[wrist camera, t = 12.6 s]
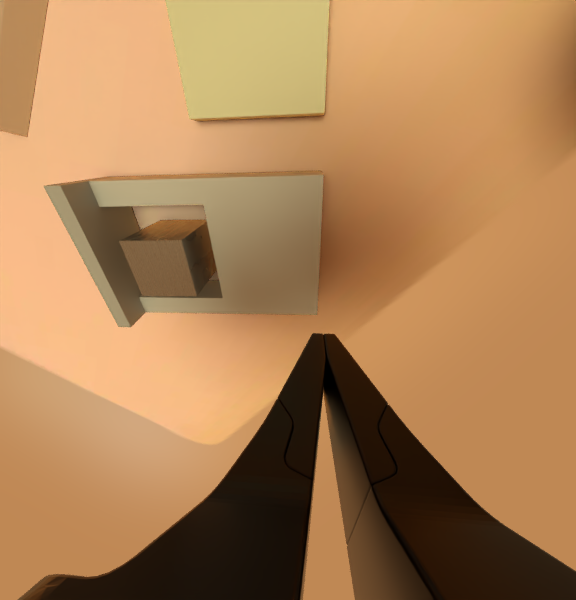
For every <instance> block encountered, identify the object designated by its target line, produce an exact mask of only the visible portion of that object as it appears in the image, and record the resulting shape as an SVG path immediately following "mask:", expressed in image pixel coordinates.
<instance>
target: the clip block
mask: <svg viewBox="0 0 576 600" xmlns="http://www.w3.org/2000/svg"><path fill="white" fill-rule="evenodd" d="M119 242H120V245H121V247H122V249H123V252H124V254H125V256H126V259H127V261H128V263H129V266H130V268H131V270H132V273H133V275H134V277H135V280H136V282H137V284H138V287H139V289H140V291H141V294H142V296H198V294H199V293H200V291H201V290H202V289H203V287H204V286H205V285H206V283H207V282H208V281H209V279H210V278H211V277H212V275H213V274H214V273H215V271H216V270H217V268H216V263H215V258H214V254H213V249H212V244H211V239H210V235H209V230H208V225H207V220H160V221H158V222H156V223H154V224H152V225H150V226H148V227H146V228H144V229H142V230H140V231H138V232H136V233H134V234H132V235H130V236H128V237H126V238H124V239H122V240H120V241H119Z"/></svg>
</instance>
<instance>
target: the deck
mask: <svg viewBox="0 0 576 600" xmlns="http://www.w3.org/2000/svg"><path fill="white" fill-rule="evenodd" d="M323 181H324V175H323V173H322V171H296V172H260V173H224V174H189V175H153V176H117V177H102V178H95V179H89V180H82V181H75V182H68V183H61V184H54V185H47V186H44V188H45V190H46V192H47V194H48V196H49V197H50V199H51V201H52V203H53V205H54V207H55V209H56V211H57V212H58V214H59V216H60V218H61V220H62V222H63V224H64V226H65V227H66V229H67V231H68V233H69V235H70V237H71V239H72V241H73V242H74V244H75V246H76V248H77V250H78V252H79V254H80V256H81V257H82V259H83V261H84V263H85V265H86V267H87V269H88V271H89V272H90V274H91V276H92V278H93V280H94V282H95V284H96V286H97V287H98V289H99V291H100V293H101V295H102V297H103V299H104V301H105V302H106V304H107V306H108V308H109V310H110V312H111V314H112V316H113V317H114V319H115V321H116V323H117V325H118V327H132V326H133V325H134V323H135V322H136V321H137V320H138V319H139V318H140V317H141V316H142V315H143V314H144V313H145V312H159V313H221V314H284V315H317V311H318V289H319V268H320V246H321V224H322V203H323ZM167 205H203V206H204V211H205V216H206V220H207V225H208V230H209V235H210V239H211V244H212V249H213V254H214V258H215V263H216V268H217V273H218V277H219V280H209V281H208V282H207V283H206V285H205V286H204V287H203V289H202V290H201V291H200V293H199V294H198V296H142V294H141V291H140V289H139V287H138V284H137V282H136V280H135V277H134V275H133V273H132V270H131V268H130V266H129V263H128V261H127V259H126V256H125V254H124V252H123V249H122V247H121V245H120V242H119V241H120V240H122V239H124V238H126V237H128V236H130V235H132V234H134V233H136V232H138V231H140V228H139V226H138V223H137V220H136V218H135V215H134V212H133V209H132V207H131V206H167Z"/></svg>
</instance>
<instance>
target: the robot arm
mask: <svg viewBox="0 0 576 600" xmlns="http://www.w3.org/2000/svg"><path fill="white" fill-rule="evenodd" d="M323 393H324V400H325V406H326V413H327V420H328V426H329V432H330V439H331V445H332V452H333V458H334V465H335V472H336V478H337V484H338V491H339V498H340V504H341V511H342V517H343V524H344V530H345V537H346V543H347V545H348V546H347V550H348V557H349V563H350V570H351V576H352V583H353V589H354V595H355V600H576V571H575V570H573V569H572V568H570V567H568V566H567V565H565V564H564V563H562V562H561V561H559V560H558V559H556V558H554V557H553V556H551V555H550V554H548V553H547V552H545V551H544V550H542V549H540V548H539V547H537V546H536V545H534V544H533V543H531V542H530V541H528V540H527V539H525V538H523V537H522V536H520V535H519V534H517V533H516V532H514V531H513V530H511V529H509V528H508V527H506V526H505V525H503V524H502V523H500V522H499V521H498V520H497V519H495V518H494V517H493V516H491V515H490V514H489V513H488V512H487V511H485V510H484V509H483V508H482V507H481V506H480V505H479V504H478V503H477V502H475V501H474V500H473V499H472V498H471V497H470V495H469V494H468V493H466V491H465V490H464V489H463V488H462V487H461V486H460V485H459V484H458V483H457V482H456V481H455V480H454V478H453V477H452V476H451V475H450V474H449V473H448V472H447V471H446V470H445V469H444V468H443V467H442V466H441V464H440V463H439V462H438V461H437V460H436V459H435V458H434V457H433V456H432V455H431V454H430V453H429V452H428V451H427V449H426V448H425V447H424V446H423V445H422V444H421V443H420V442H419V440H418V439H417V438H416V437H415V436H414V435H413V434H412V433H411V431H410V430H409V429H408V428H407V427H406V426H405V424H404V423H403V422H402V421H401V419H400V418H399V417H398V416H397V414H396V413H395V412H394V411H393V409H392V408H391V407H390V406H389V405H388V403H387V401H386V400H385V399H384V398H383V396H382V395H381V394H380V392H379V391H378V390H377V388H376V387H375V386H374V385H373V383H372V382H371V381H370V379H369V378H368V377H367V375H366V374H365V373H364V372H363V370H362V369H361V368H360V366H359V365H358V364H357V363H356V361H355V360H354V359H353V357H352V356H351V355H350V353H349V352H348V351H347V349H346V348H345V347H344V346H343V344H342V343H341V342H340V340H339V339H338V338H337V336H336V335H335V334H324V335H323V334H319V333H313V334H312V335H311V337H310V339H309V341H308V343H307V344H306V346H305V348H304V350H303V352H302V354H301V355H300V357H299V359H298V361H297V363H296V365H295V367H294V368H293V370H292V372H291V374H290V376H289V378H288V379H287V381H286V383H285V385H284V387H283V389H282V390H281V392H280V394H279V396H278V399H277V400H276V401H275V403H274V405H273V407H272V409H271V410H270V412H269V414H268V415H267V418H266V419H265V420H264V422H263V424H262V425H261V427H260V428H259V430H258V431H257V433H256V434H255V436H254V437H253V438H252V440H251V441H250V442H249V444H248V445H247V447H246V448H245V449H244V451H243V452H242V453H241V455H240V456H239V458H238V459H237V461H236V462H235V463H234V465H233V466H232V467H231V469H230V470H229V471H228V473H227V474H226V475H225V477H224V478H223V479H222V481H221V482H220V483H219V484H218V486H217V487H216V488H215V489H214V490H213V491H212V493H210V494H209V495H208V496H207V497H206V498H205V499H204V500H203V501H202V502H200V503H199V504H198V505H197V506H196V507H194V508H193V509H192V510H191V511H189V512H188V513H187V514H186V515H185V516H184V517H182V518H181V519H180V520H179V521H177V522H176V523H175V524H174V525H172V526H171V527H170V528H169V529H167V530H166V531H165V532H164V533H163V534H161V535H160V536H159V537H158V538H157V539H155V540H154V541H153V542H152V543H150V544H149V545H148V546H147V547H145V548H144V549H143V550H142V551H141V552H139V553H138V554H137V555H136V556H134V557H133V558H132V559H130V560H129V561H127V562H126V563H125V564H123V565H122V566H120V567H118V568H116V569H114V570H112V571H110V572H108V573H105V574H102V575H99V576H93V577H84V576H74V575H65V574H54V575H48V576H46V577H44V578H43V579H42V580H40V581H39V582H38V583H37V584H35V585H34V586H33V587H32V588H31V589H30V590H29V591H28V592H26V593H25V594H24V595H23V596H22V597H20V598H19V599H18V600H303V591H304V582H305V571H306V561H307V551H308V540H309V531H310V520H311V509H312V500H313V490H314V480H315V469H316V459H317V448H318V439H319V429H320V419H321V408H322V398H323Z"/></svg>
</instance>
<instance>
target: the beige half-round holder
mask: <svg viewBox="0 0 576 600" xmlns="http://www.w3.org/2000/svg"><path fill="white" fill-rule="evenodd" d="M47 4H48V0H0V131H3V132H8V133H12V134H16V135H21V136H25V137H27V134H28V128H29V121H30V115H31V108H32V102H33V95H34V89H35V82H36V76H37V69H38V63H39V56H40V50H41V43H42V37H43V30H44V24H45V17H46V11H47Z"/></svg>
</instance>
